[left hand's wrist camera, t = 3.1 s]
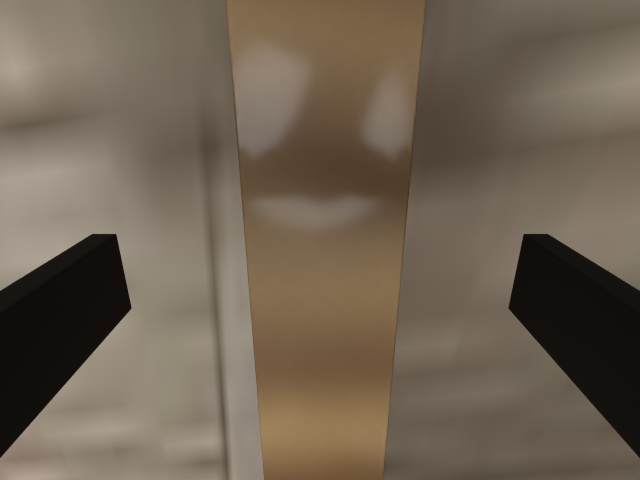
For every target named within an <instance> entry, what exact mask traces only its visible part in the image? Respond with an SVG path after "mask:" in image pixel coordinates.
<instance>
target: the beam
mask: <svg viewBox="0 0 640 480" xmlns="http://www.w3.org/2000/svg"><path fill="white" fill-rule="evenodd" d="M226 7H227V20H228V32H229V45H230V57H231V70H232V82H233V95H234V107H235V120H236V132H237V145H238V157H239V170H240V182H241V195H242V207H243V220H244V232H245V245H246V257H247V270H248V282H249V295H250V307H251V320H252V332H253V345H254V357H255V370H256V382H257V395H258V407H259V420H260V432H261V445H262V457H263V470H264V480H383V473H384V461H385V450H386V439H387V428H388V417H389V406H390V395H391V384H392V373H393V362H394V351H395V340H396V328H397V317H398V306H399V295H400V284H401V273H402V262H403V251H404V240H405V229H406V218H407V207H408V195H409V184H410V173H411V162H412V151H413V140H414V129H415V118H416V107H417V96H418V85H419V74H420V62H421V51H422V40H423V29H424V18H425V7H426V0H226Z"/></svg>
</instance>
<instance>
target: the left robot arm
mask: <svg viewBox="0 0 640 480" xmlns="http://www.w3.org/2000/svg"><path fill="white" fill-rule="evenodd" d="M130 310H131V303H130V299H129V294H128V289H127V284H126V279H125V274H124V270H123V265H122V260H121V255H120V250H119V245H118V240H117V236H116V234H92V235H90V236H88V237H87V238H85V239H84V240H82V241H80V242H79V243H77V244H75V245H74V246H72V247H71V248H69V249H67V250H66V251H64V252H62V253H61V254H59V255H58V256H56V257H54V258H53V259H51V260H50V261H48V262H46V263H45V264H43V265H41V266H40V267H38V268H37V269H35V270H33V271H32V272H30V273H28V274H27V275H25V276H24V277H22V278H20V279H19V280H17V281H15V282H14V283H12V284H11V285H9V286H7V287H6V288H4V289H3V290H1V291H0V458H1V457H2V455H3V454H4V453H5V452H6V451H7V450H8V449H9V447H10V446H11V445H12V444H13V443H14V442H15V441H16V439H17V438H18V437H19V436H20V435H21V434H22V433H23V431H24V430H25V429H26V428H27V427H28V426H29V425H30V423H31V422H32V421H33V420H34V419H35V418H36V417H37V416H38V414H39V413H40V412H41V411H42V410H43V409H44V408H45V406H46V405H47V404H48V403H49V402H50V401H51V400H52V398H53V397H54V396H55V395H56V394H57V393H58V392H59V390H60V389H61V388H62V387H63V386H64V385H65V384H66V382H67V381H68V380H69V379H70V378H71V377H72V376H73V374H74V373H75V372H76V371H77V370H78V369H79V368H80V367H81V365H82V364H83V363H84V362H85V361H86V360H87V359H88V357H89V356H90V355H91V354H92V353H93V352H94V351H95V349H96V348H97V347H98V346H99V345H100V344H101V343H102V341H103V340H104V339H105V338H106V337H107V336H108V335H109V333H110V332H111V331H112V330H113V329H114V328H115V327H116V325H117V324H118V323H119V322H120V321H121V320H122V319H123V318H124V316H125V315H126V314H127V313H128V312H129V311H130ZM509 310H510V311H511V312H512V313H513V314H514V315H515V316H516V318H517V319H518V320H519V321H520V322H521V323H522V324H523V325H524V327H525V328H526V329H527V330H528V331H529V332H530V333H531V335H532V336H533V337H534V338H535V339H536V340H537V341H538V343H539V344H540V345H541V346H542V347H543V348H544V349H545V351H546V352H547V353H548V354H549V355H550V356H551V357H552V359H553V360H554V361H555V362H556V363H557V364H558V365H559V367H560V368H561V369H562V370H563V371H564V372H565V373H566V374H567V376H568V377H569V378H570V379H571V380H572V381H573V382H574V384H575V385H576V386H577V387H578V388H579V389H580V390H581V392H582V393H583V394H584V395H585V396H586V397H587V398H588V400H589V401H590V402H591V403H592V404H593V405H594V406H595V408H596V409H597V410H598V411H599V412H600V413H601V414H602V416H603V417H604V418H605V419H606V420H607V421H608V422H609V423H610V425H611V426H612V427H613V428H614V429H615V430H616V431H617V433H618V434H619V435H620V436H621V437H622V438H623V439H624V441H625V442H626V443H627V444H628V445H629V446H630V447H631V449H632V450H633V451H634V452H635V453H636V454H637V455H638V457H639V458H640V291H639V290H637V289H636V288H634V287H633V286H631V285H629V284H628V283H626V282H625V281H623V280H621V279H620V278H618V277H616V276H615V275H613V274H612V273H610V272H608V271H607V270H605V269H603V268H602V267H600V266H599V265H597V264H595V263H594V262H592V261H590V260H589V259H587V258H586V257H584V256H582V255H581V254H579V253H577V252H576V251H574V250H573V249H571V248H569V247H568V246H566V245H565V244H563V243H561V242H560V241H558V240H556V239H555V238H553V237H552V236H550V235H548V234H524V236H523V240H522V245H521V250H520V255H519V260H518V265H517V269H516V274H515V279H514V284H513V289H512V294H511V299H510V303H509Z"/></svg>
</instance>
